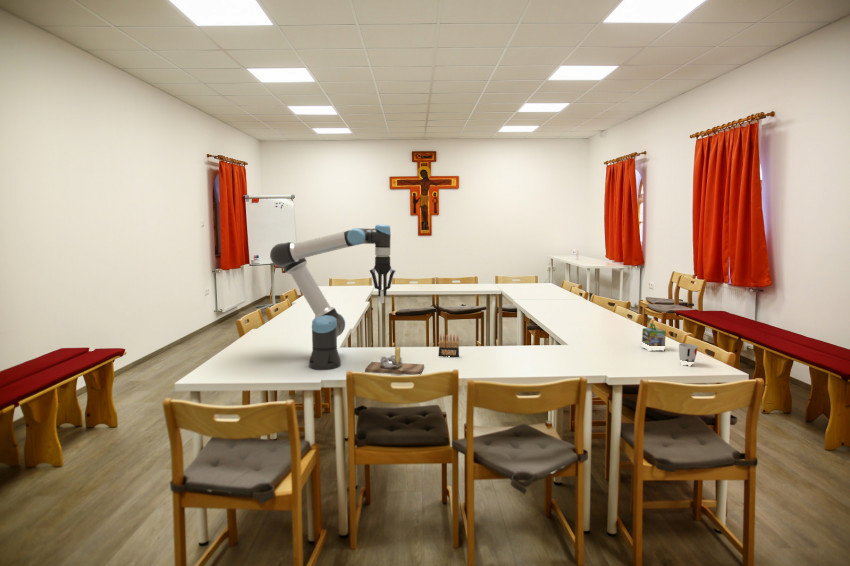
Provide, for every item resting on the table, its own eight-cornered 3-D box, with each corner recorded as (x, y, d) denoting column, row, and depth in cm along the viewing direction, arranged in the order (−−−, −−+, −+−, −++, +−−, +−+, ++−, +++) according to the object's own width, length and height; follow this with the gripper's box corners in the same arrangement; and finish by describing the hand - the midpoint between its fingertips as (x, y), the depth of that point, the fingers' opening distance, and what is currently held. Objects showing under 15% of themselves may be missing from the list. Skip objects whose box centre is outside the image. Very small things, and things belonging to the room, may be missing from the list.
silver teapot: (377, 364, 227) (377, 342, 226) (396, 361, 232) (396, 340, 231) (388, 372, 215) (388, 349, 214) (408, 369, 219) (408, 347, 218)
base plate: (365, 372, 221) (364, 368, 221) (371, 364, 233) (371, 361, 233) (420, 375, 217) (420, 371, 217) (424, 367, 229) (424, 364, 229)
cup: (685, 367, 233) (686, 347, 232) (673, 362, 241) (675, 343, 240) (699, 366, 234) (701, 347, 233) (688, 362, 242) (689, 343, 241)
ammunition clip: (438, 356, 248) (438, 334, 247) (438, 355, 250) (439, 333, 249) (458, 357, 247) (459, 335, 245) (459, 356, 249) (459, 334, 247)
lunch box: (665, 351, 263) (667, 325, 261) (648, 351, 262) (650, 325, 261) (656, 347, 272) (658, 322, 270) (640, 347, 272) (642, 322, 270)
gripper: (397, 255, 239) (396, 302, 242) (371, 255, 241) (371, 301, 244) (394, 256, 232) (393, 304, 234) (368, 256, 233) (367, 303, 236)
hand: (382, 302), depth 239 cm, fingers closed
